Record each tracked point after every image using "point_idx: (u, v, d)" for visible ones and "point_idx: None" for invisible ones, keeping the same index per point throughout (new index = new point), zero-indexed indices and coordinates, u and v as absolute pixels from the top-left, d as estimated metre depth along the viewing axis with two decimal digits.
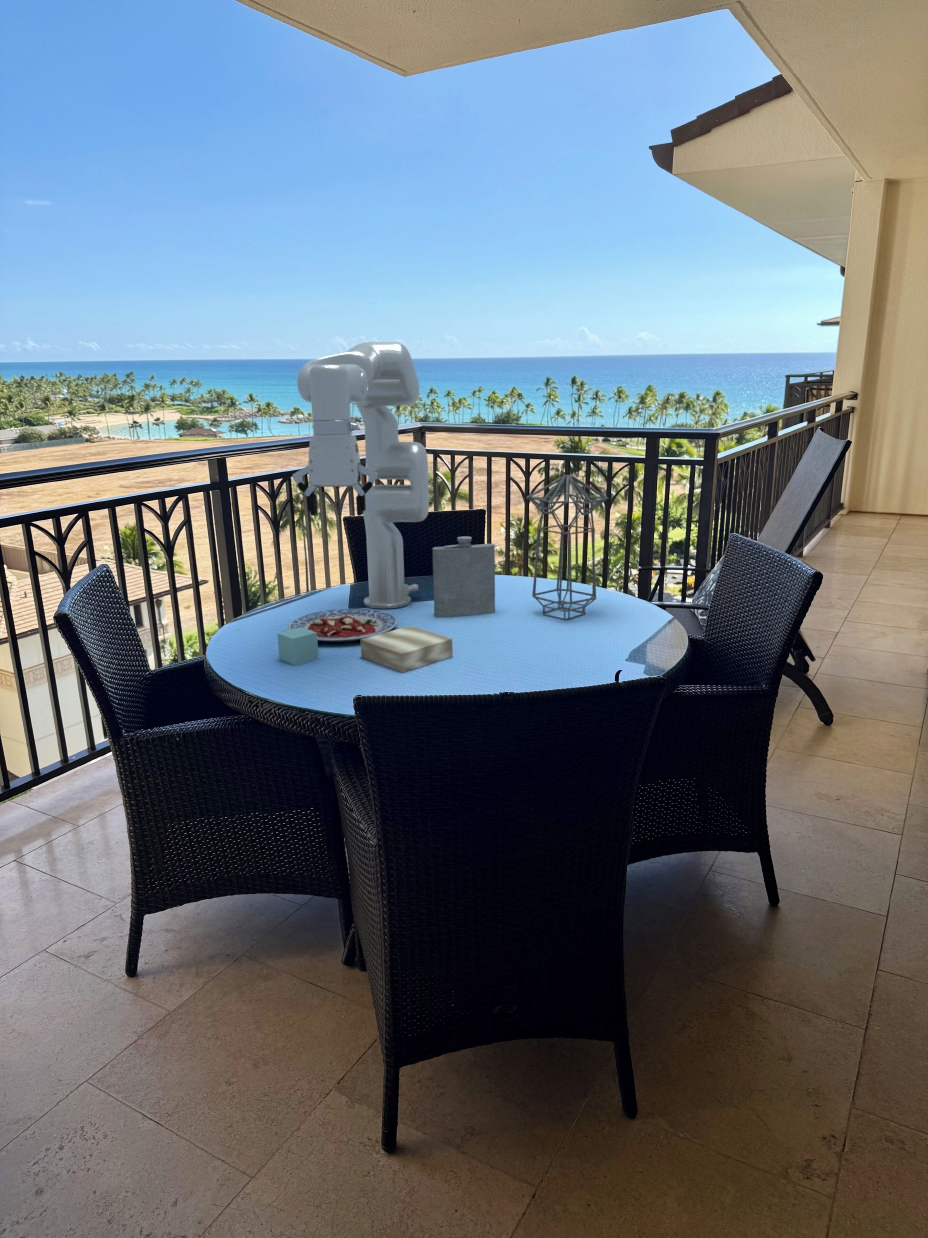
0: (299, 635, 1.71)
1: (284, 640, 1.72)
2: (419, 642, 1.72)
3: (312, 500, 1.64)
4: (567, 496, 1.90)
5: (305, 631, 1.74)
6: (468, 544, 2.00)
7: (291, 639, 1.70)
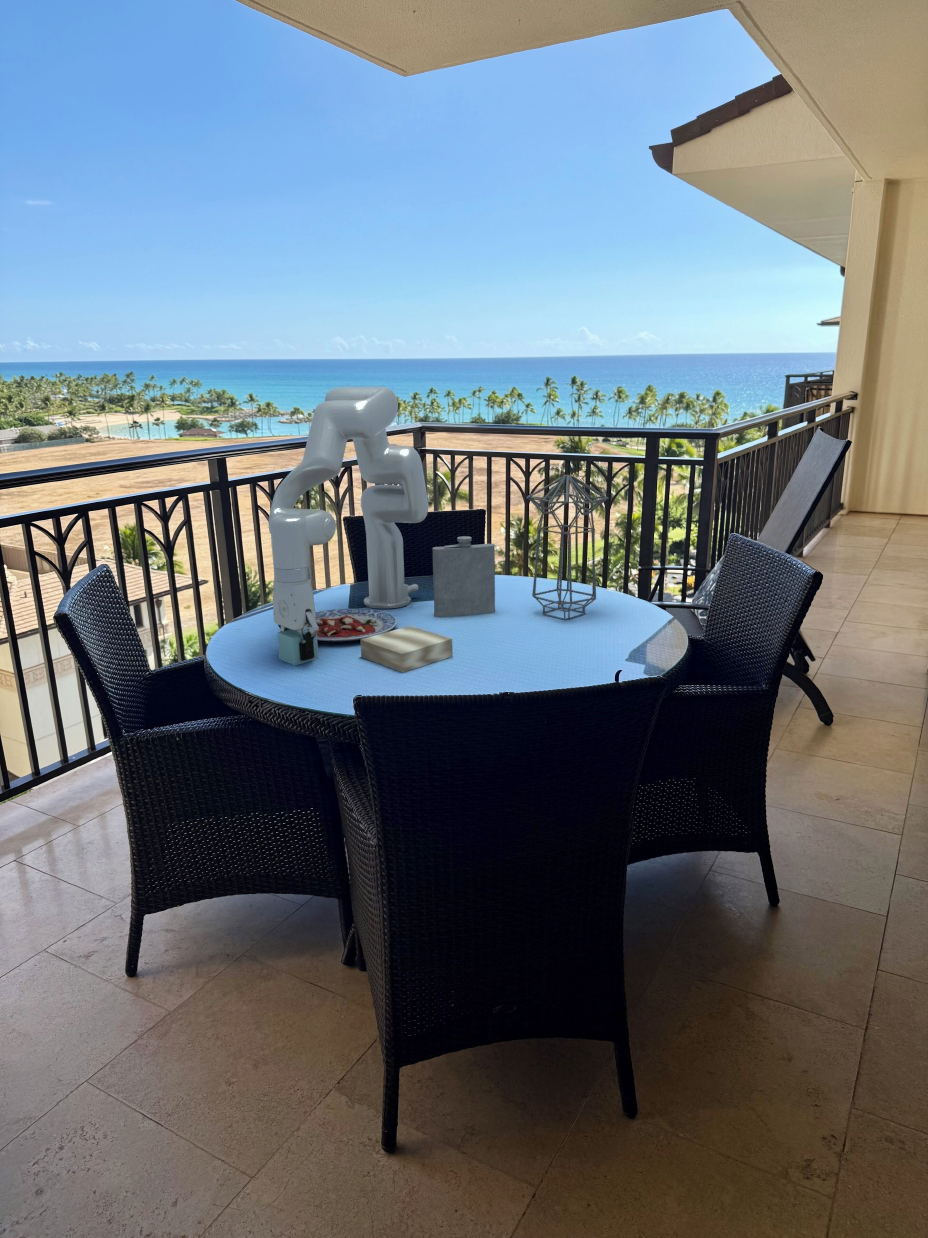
0: None
1: (284, 639, 1.72)
2: (419, 642, 1.72)
3: None
4: (567, 496, 1.90)
5: (305, 630, 1.74)
6: (468, 544, 2.00)
7: (291, 639, 1.70)
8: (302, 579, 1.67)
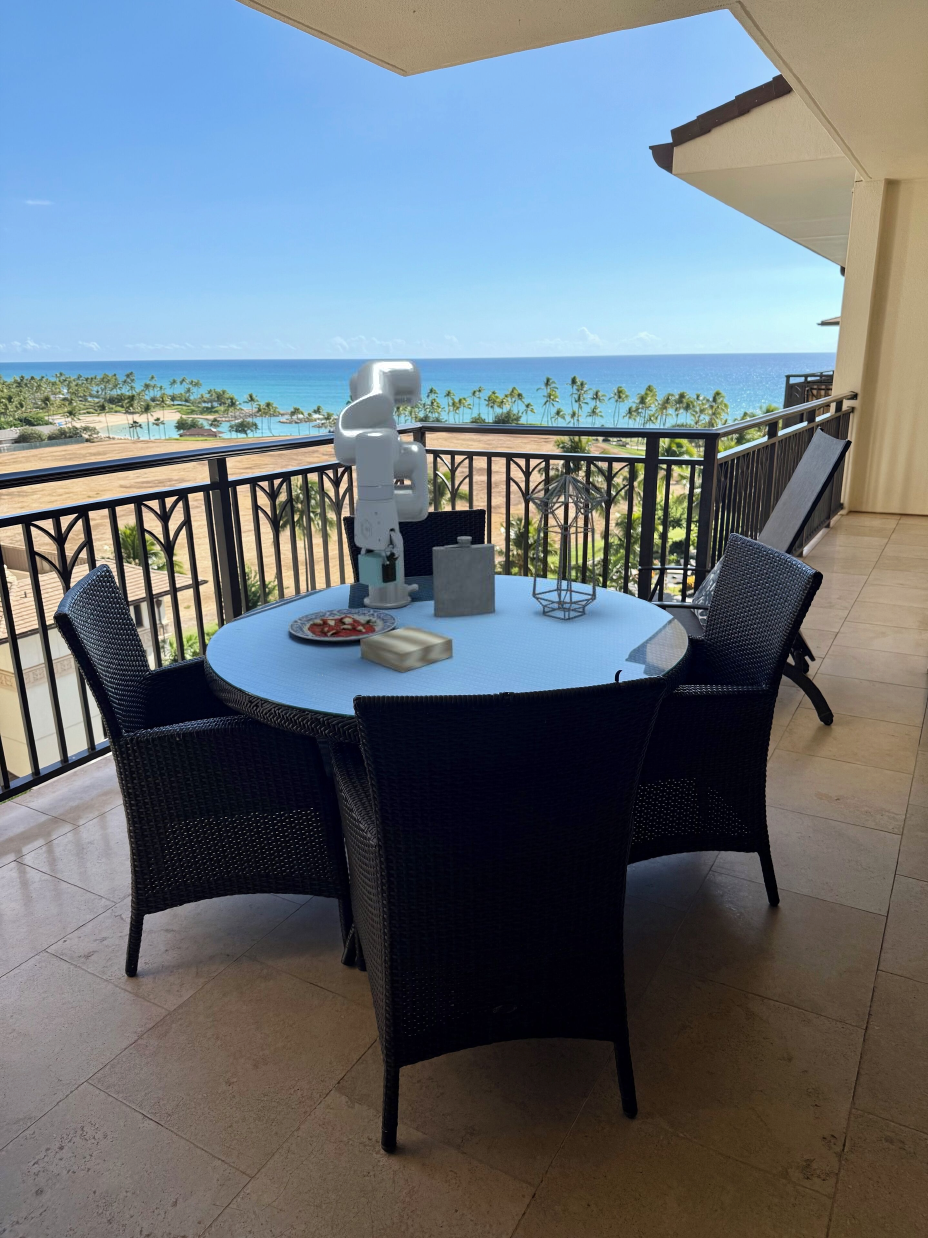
0: (381, 556, 1.67)
1: (366, 561, 1.67)
2: (419, 642, 1.72)
3: None
4: (567, 496, 1.90)
5: None
6: (468, 544, 2.00)
7: (374, 559, 1.65)
8: (387, 497, 1.63)
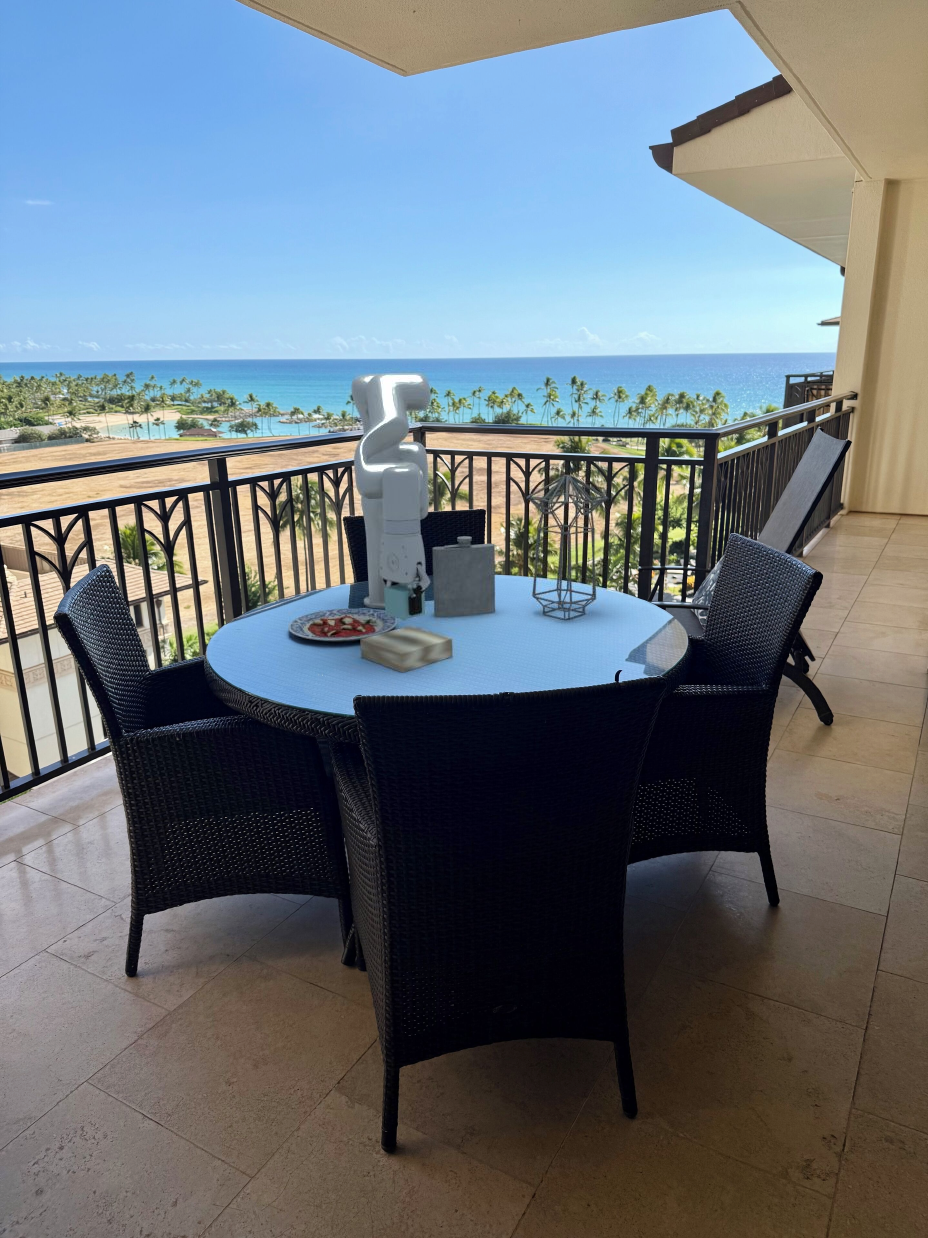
0: (407, 589, 1.68)
1: (392, 594, 1.69)
2: (419, 642, 1.72)
3: None
4: (567, 496, 1.90)
5: None
6: (468, 544, 2.00)
7: (400, 592, 1.67)
8: (413, 531, 1.65)
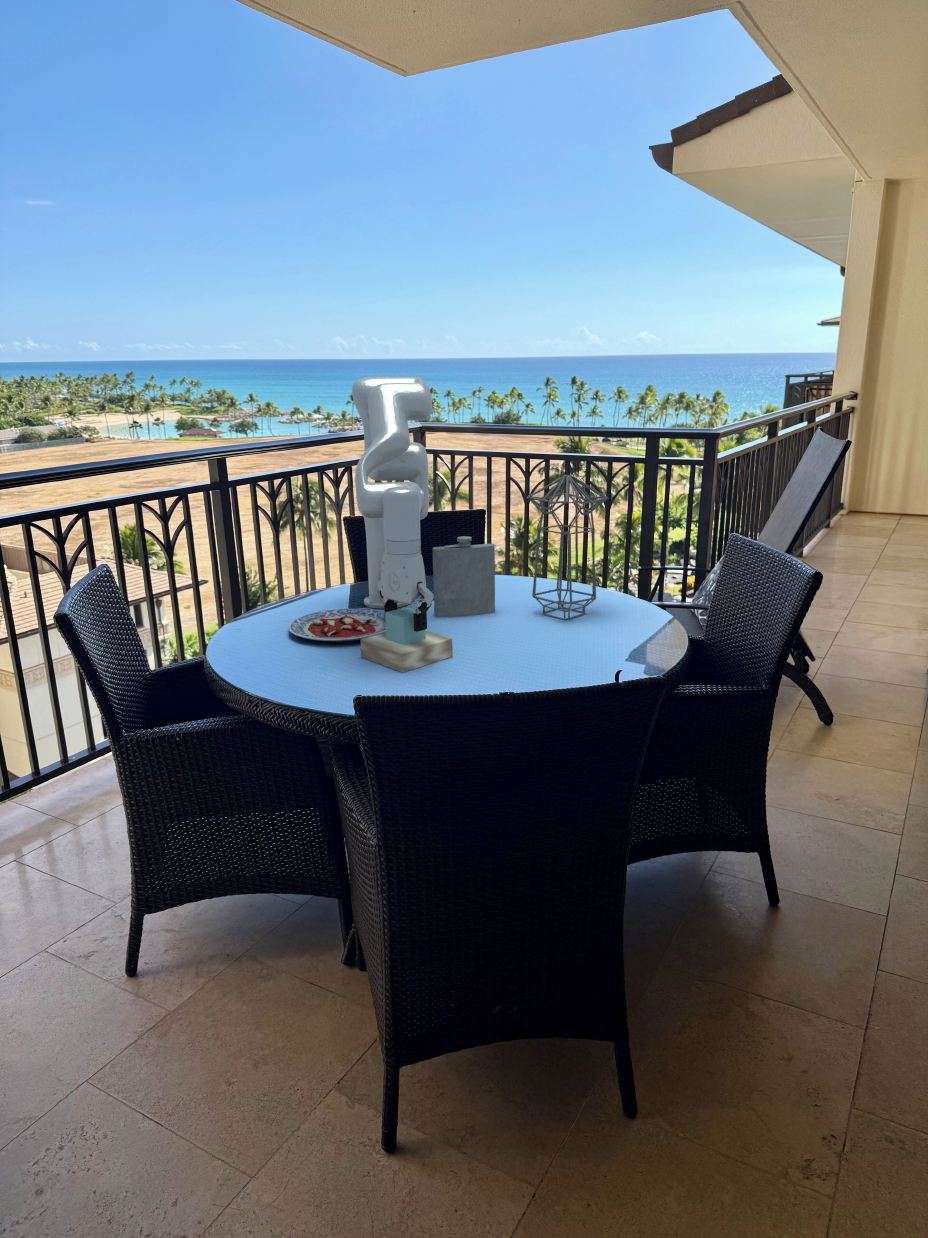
0: (408, 615, 1.70)
1: (393, 619, 1.71)
2: (419, 642, 1.72)
3: None
4: (567, 496, 1.90)
5: (412, 610, 1.73)
6: (468, 544, 2.00)
7: (401, 618, 1.69)
8: (414, 551, 1.66)
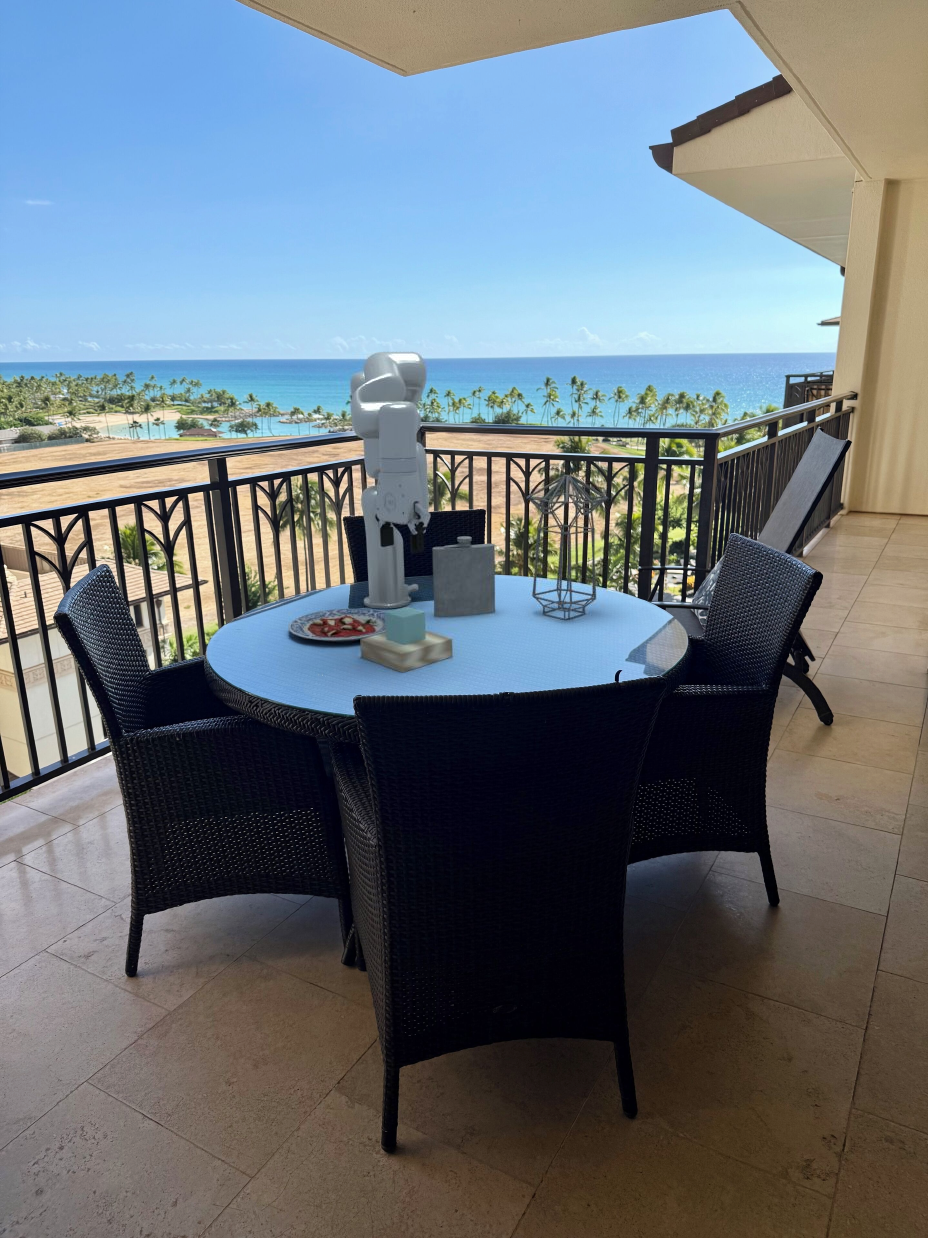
0: (408, 615, 1.70)
1: (393, 619, 1.71)
2: (419, 642, 1.72)
3: None
4: (567, 496, 1.90)
5: (412, 610, 1.73)
6: (468, 544, 2.00)
7: (401, 618, 1.69)
8: (410, 470, 1.62)
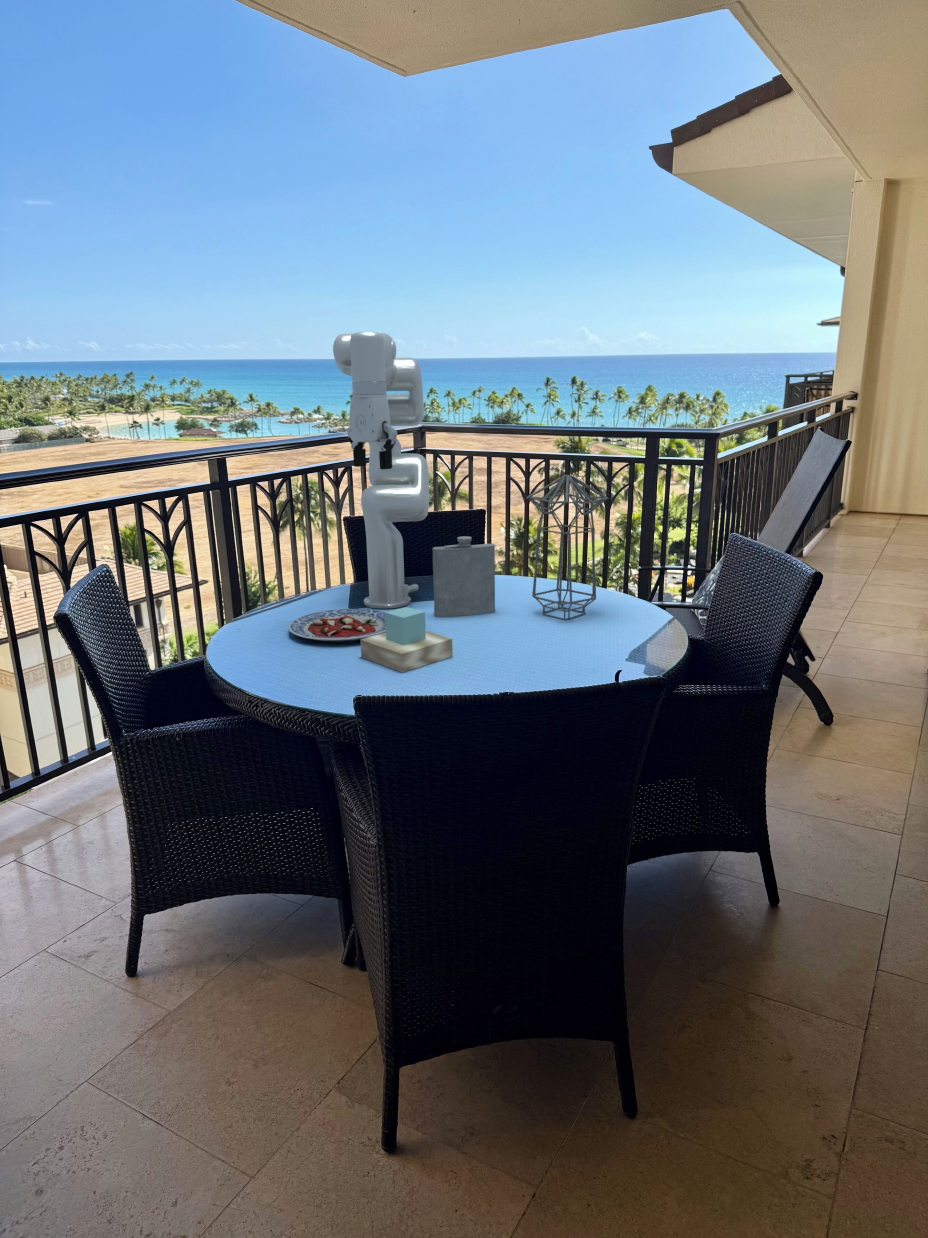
0: (408, 615, 1.70)
1: (393, 619, 1.71)
2: (419, 642, 1.72)
3: None
4: (567, 496, 1.90)
5: (412, 610, 1.73)
6: (468, 544, 2.00)
7: (401, 618, 1.69)
8: (379, 392, 1.79)
